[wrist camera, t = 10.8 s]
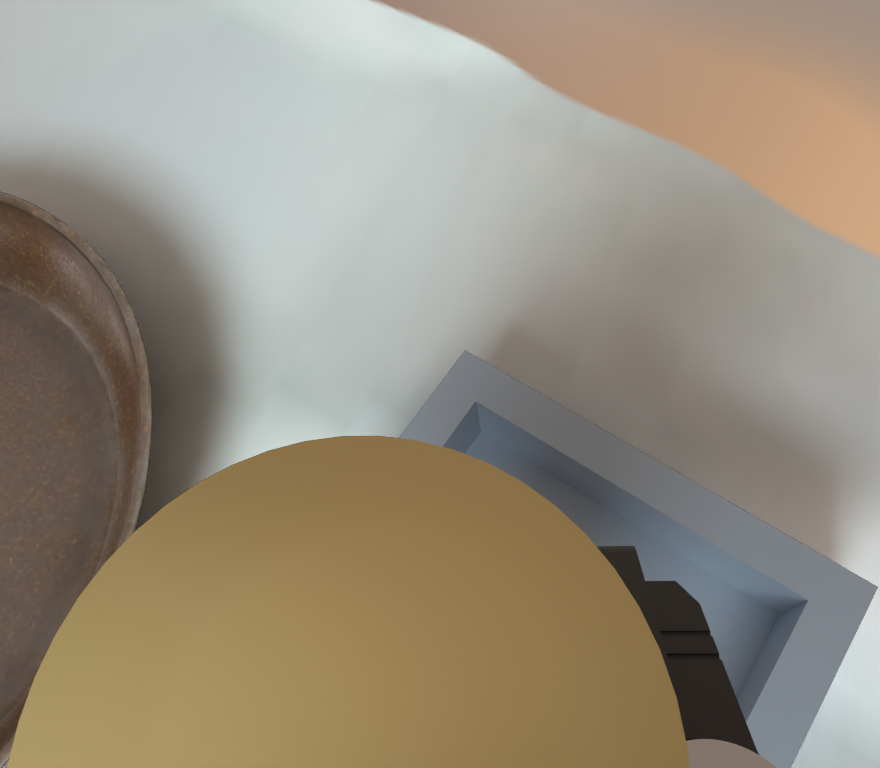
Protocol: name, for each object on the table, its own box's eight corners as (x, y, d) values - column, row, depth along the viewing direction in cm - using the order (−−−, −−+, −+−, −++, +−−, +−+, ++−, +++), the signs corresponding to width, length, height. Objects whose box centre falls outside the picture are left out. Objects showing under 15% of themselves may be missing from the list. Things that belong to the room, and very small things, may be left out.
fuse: (337, 768, 15) (-134, 843, 4) (453, 599, 16) (297, 339, 6) (504, 912, 14) (399, 1526, 3) (616, 717, 15) (820, 669, 4)
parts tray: (116, 878, 17) (48, 902, 14) (473, 393, 21) (464, 350, 18) (494, 1281, 13) (486, 1398, 11) (831, 606, 17) (877, 586, 15)
